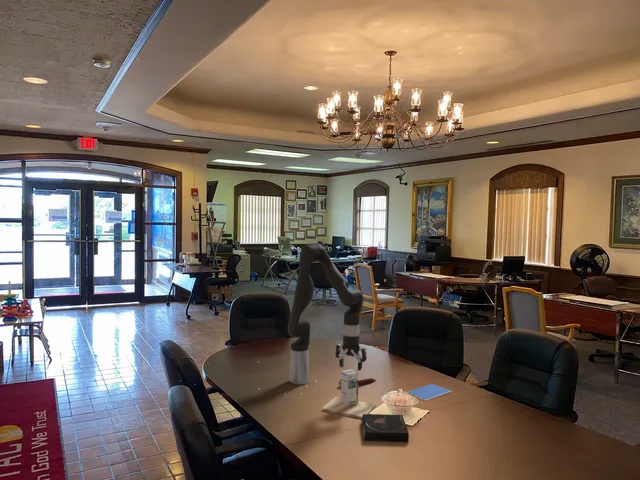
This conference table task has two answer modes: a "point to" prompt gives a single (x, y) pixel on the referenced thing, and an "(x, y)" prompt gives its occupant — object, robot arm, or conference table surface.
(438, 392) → the tablet computer
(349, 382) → the syrup box
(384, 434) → the portable cd player
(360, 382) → the gavel
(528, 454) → the conference table surface
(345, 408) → the folded beige cloth
